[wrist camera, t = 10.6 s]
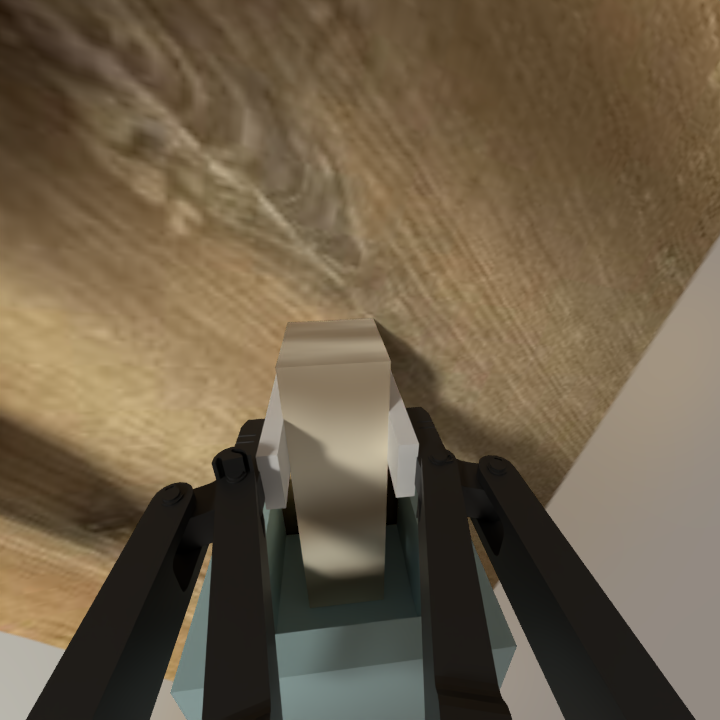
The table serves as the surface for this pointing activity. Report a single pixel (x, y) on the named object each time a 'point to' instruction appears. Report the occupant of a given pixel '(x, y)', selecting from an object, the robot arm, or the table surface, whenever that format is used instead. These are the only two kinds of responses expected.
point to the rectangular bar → (338, 454)
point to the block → (343, 635)
